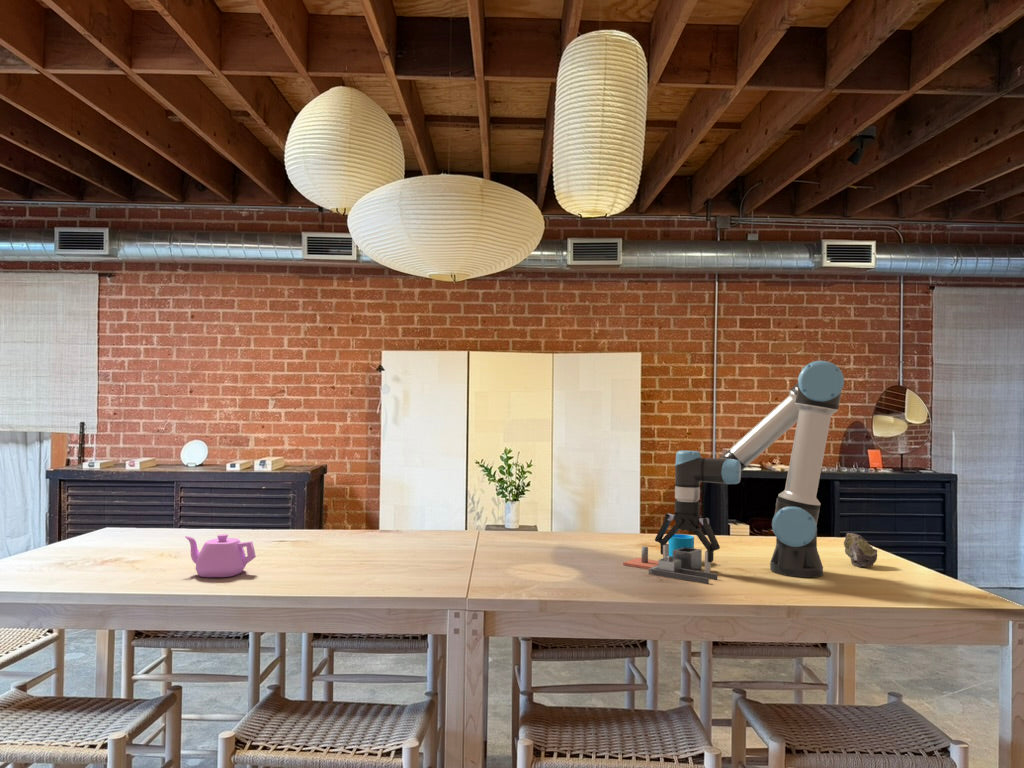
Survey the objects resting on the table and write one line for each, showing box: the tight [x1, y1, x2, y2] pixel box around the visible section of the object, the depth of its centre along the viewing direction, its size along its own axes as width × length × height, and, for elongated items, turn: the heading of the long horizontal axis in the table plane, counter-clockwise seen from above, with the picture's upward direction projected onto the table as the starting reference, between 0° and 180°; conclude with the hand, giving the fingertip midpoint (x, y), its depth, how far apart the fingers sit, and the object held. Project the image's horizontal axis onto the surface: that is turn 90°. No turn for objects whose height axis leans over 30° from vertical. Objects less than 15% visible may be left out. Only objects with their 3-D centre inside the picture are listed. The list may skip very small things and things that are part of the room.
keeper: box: [622, 546, 659, 570], centre depth 218 cm, size 10×10×6 cm
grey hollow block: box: [673, 547, 703, 571], centre depth 212 cm, size 6×8×6 cm
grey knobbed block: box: [658, 556, 681, 573], centre depth 205 cm, size 5×5×5 cm
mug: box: [667, 533, 695, 557], centre depth 226 cm, size 12×8×8 cm
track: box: [648, 566, 718, 585], centre depth 202 cm, size 18×8×2 cm, turn 52°
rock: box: [843, 532, 878, 568], centre depth 222 cm, size 11×10×10 cm
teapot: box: [184, 533, 257, 578], centre depth 195 cm, size 13×20×11 cm
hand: (686, 569), depth 212 cm, fingers open, 13 cm apart
